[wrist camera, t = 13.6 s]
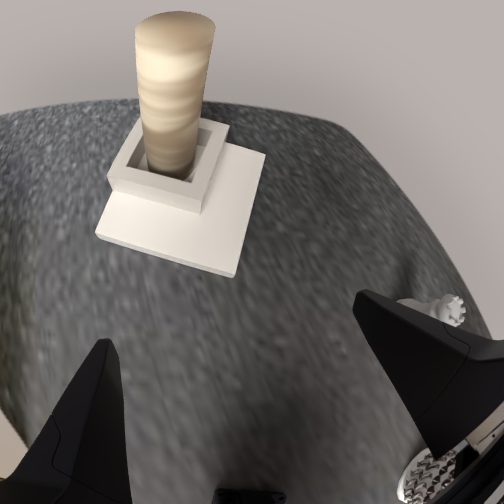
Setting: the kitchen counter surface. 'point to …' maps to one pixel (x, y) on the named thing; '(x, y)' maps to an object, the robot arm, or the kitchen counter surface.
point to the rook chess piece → (440, 308)
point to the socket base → (184, 202)
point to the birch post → (172, 87)
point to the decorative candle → (426, 477)
